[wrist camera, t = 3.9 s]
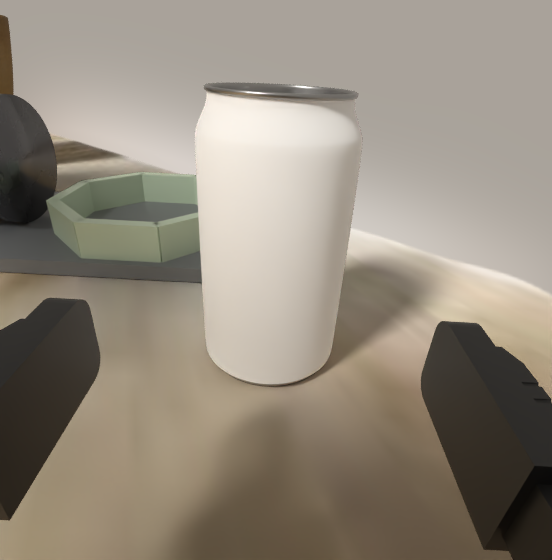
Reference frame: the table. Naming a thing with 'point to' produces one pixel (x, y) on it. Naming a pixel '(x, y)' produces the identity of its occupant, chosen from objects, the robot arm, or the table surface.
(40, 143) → the cylinder
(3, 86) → the plant pot
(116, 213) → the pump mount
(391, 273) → the table surface
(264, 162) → the can
